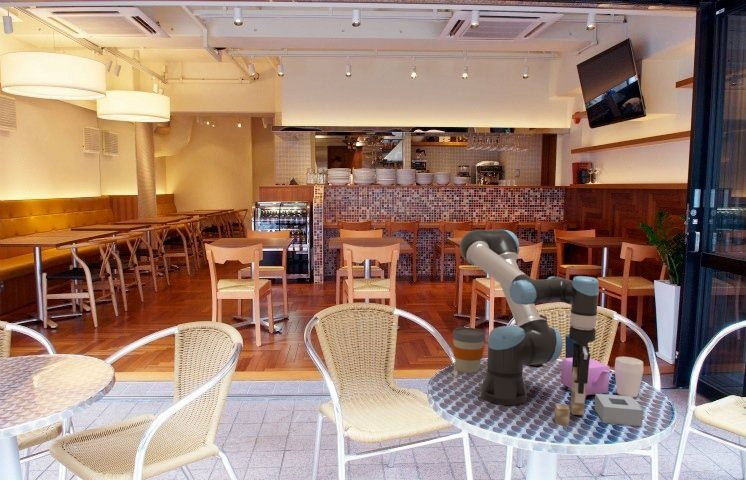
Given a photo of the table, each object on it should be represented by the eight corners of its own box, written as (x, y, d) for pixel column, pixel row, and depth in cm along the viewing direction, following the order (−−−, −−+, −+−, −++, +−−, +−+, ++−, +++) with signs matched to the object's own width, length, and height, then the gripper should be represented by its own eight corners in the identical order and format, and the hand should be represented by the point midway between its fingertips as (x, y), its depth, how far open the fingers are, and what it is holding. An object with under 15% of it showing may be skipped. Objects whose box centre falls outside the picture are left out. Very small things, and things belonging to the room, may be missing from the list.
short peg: (556, 424, 162) (557, 408, 161) (554, 419, 165) (555, 403, 165) (568, 425, 161) (569, 409, 161) (566, 420, 164) (567, 404, 164)
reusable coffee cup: (486, 366, 214) (488, 329, 213) (479, 376, 203) (481, 337, 201) (456, 361, 219) (457, 325, 218) (447, 371, 208) (448, 332, 206)
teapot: (556, 385, 195) (558, 351, 194) (579, 382, 198) (581, 349, 197) (595, 406, 176) (597, 369, 175) (620, 403, 180) (622, 366, 178)
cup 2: (644, 400, 183) (647, 365, 182) (616, 397, 184) (618, 363, 183) (637, 390, 192) (639, 357, 190) (610, 388, 193) (612, 355, 192)
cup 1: (584, 377, 204) (587, 339, 202) (566, 377, 204) (569, 338, 203) (578, 371, 211) (580, 334, 209) (560, 371, 211) (562, 333, 209)
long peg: (572, 414, 168) (575, 370, 166) (570, 409, 171) (572, 367, 170) (584, 415, 167) (587, 371, 166) (581, 410, 171) (584, 367, 169)
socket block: (603, 422, 163) (604, 406, 163) (594, 408, 174) (595, 393, 174) (641, 426, 162) (642, 410, 161) (630, 411, 172) (631, 396, 172)
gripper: (602, 334, 158) (596, 411, 160) (589, 321, 174) (584, 391, 176) (575, 333, 159) (570, 409, 161) (565, 319, 175) (560, 389, 178)
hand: (577, 399), depth 169 cm, fingers closed on long peg, 3 cm apart
